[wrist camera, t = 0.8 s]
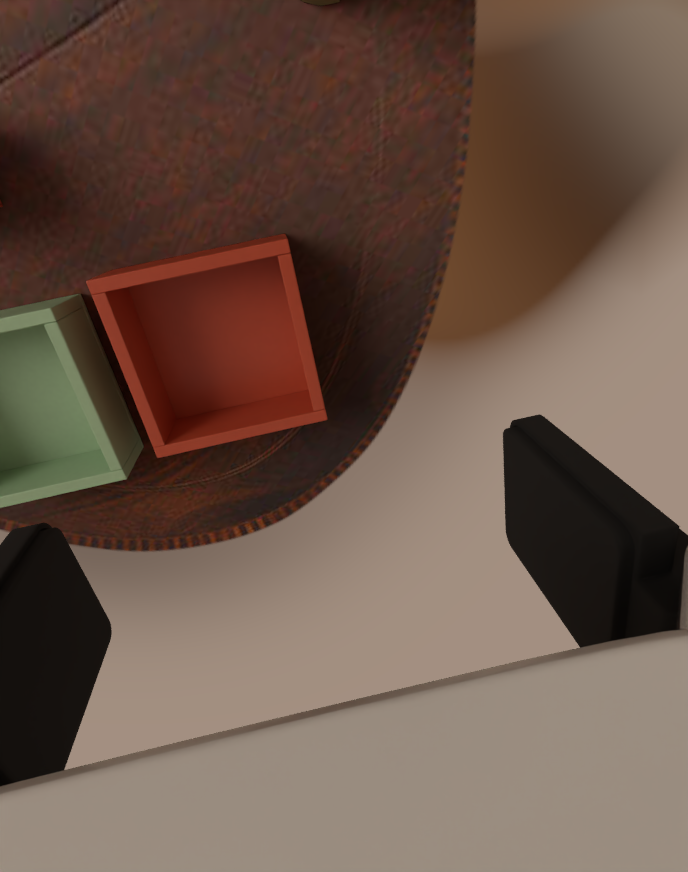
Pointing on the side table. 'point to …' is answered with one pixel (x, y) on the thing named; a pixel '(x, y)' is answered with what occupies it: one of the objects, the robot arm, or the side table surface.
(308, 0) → the olive brown pawn
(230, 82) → the side table surface
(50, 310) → the sage bin
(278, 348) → the rust bin
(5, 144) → the side table surface
